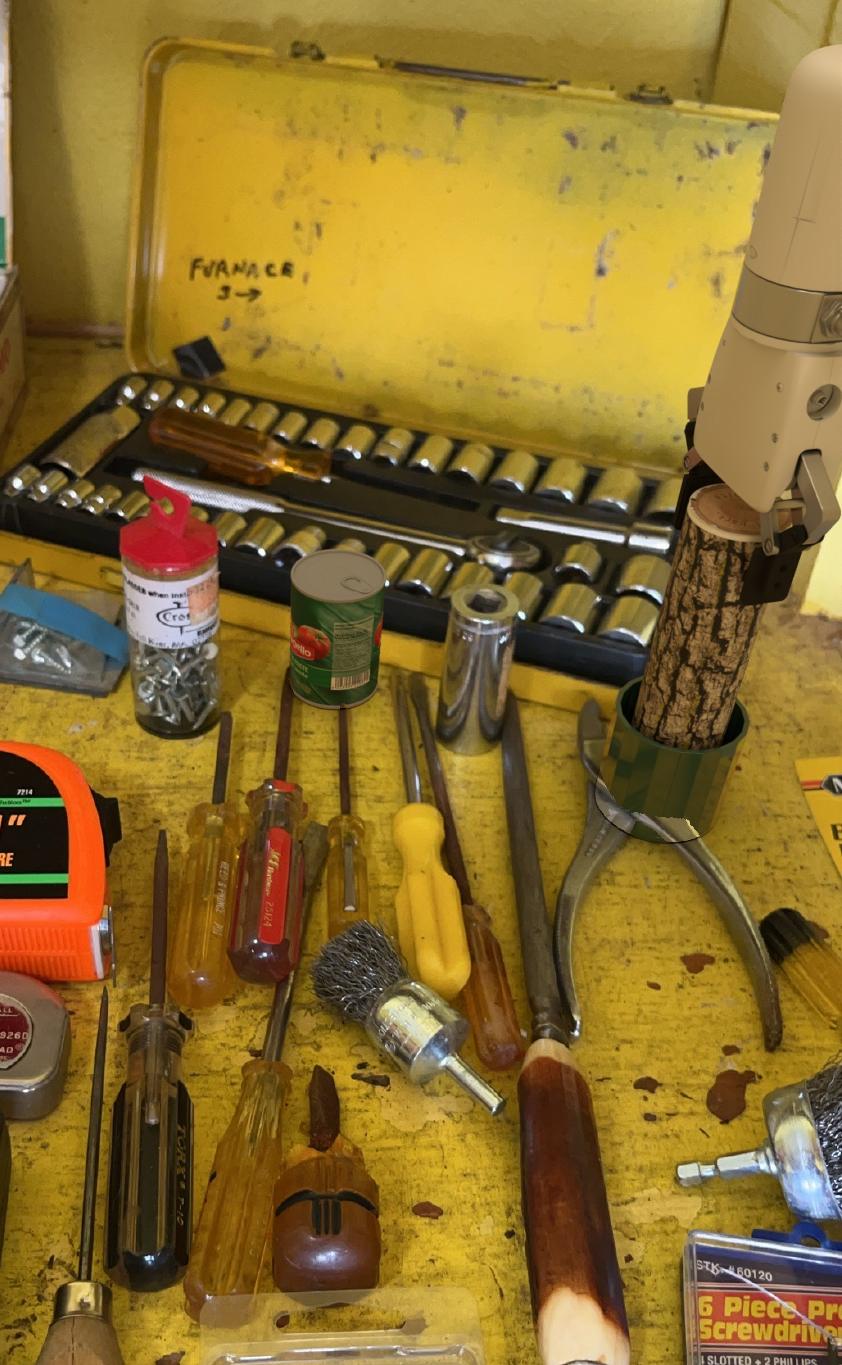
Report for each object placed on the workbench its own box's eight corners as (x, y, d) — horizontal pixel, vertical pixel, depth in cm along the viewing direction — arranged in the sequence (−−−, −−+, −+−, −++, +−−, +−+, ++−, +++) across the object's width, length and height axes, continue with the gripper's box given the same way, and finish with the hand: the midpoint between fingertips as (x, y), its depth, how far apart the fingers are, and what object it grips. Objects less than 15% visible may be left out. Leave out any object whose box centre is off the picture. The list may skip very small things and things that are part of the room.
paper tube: (696, 833, 97) (791, 543, 79) (608, 812, 98) (682, 523, 80) (705, 778, 101) (798, 493, 84) (621, 760, 103) (694, 476, 85)
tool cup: (684, 754, 104) (711, 665, 98) (741, 832, 98) (773, 742, 91) (574, 771, 103) (595, 681, 96) (625, 852, 96) (650, 761, 90)
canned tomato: (270, 683, 110) (270, 573, 103) (329, 645, 114) (333, 537, 107) (338, 722, 107) (343, 611, 99) (396, 682, 111) (406, 572, 103)
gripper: (946, 356, 68) (844, 626, 80) (784, 245, 79) (716, 494, 91) (822, 369, 66) (737, 641, 78) (675, 253, 78) (621, 506, 90)
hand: (726, 562), depth 85 cm, fingers open, 9 cm apart
